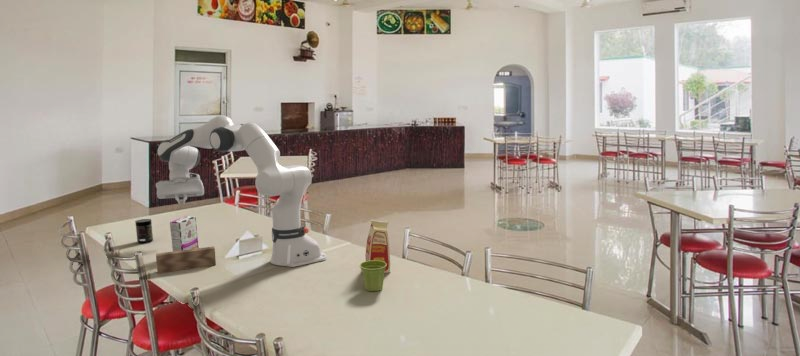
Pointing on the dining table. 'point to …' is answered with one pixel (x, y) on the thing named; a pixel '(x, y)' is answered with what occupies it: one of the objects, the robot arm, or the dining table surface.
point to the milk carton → (378, 244)
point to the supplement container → (144, 231)
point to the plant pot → (373, 274)
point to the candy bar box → (184, 233)
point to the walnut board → (185, 259)
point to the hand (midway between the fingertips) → (181, 203)
